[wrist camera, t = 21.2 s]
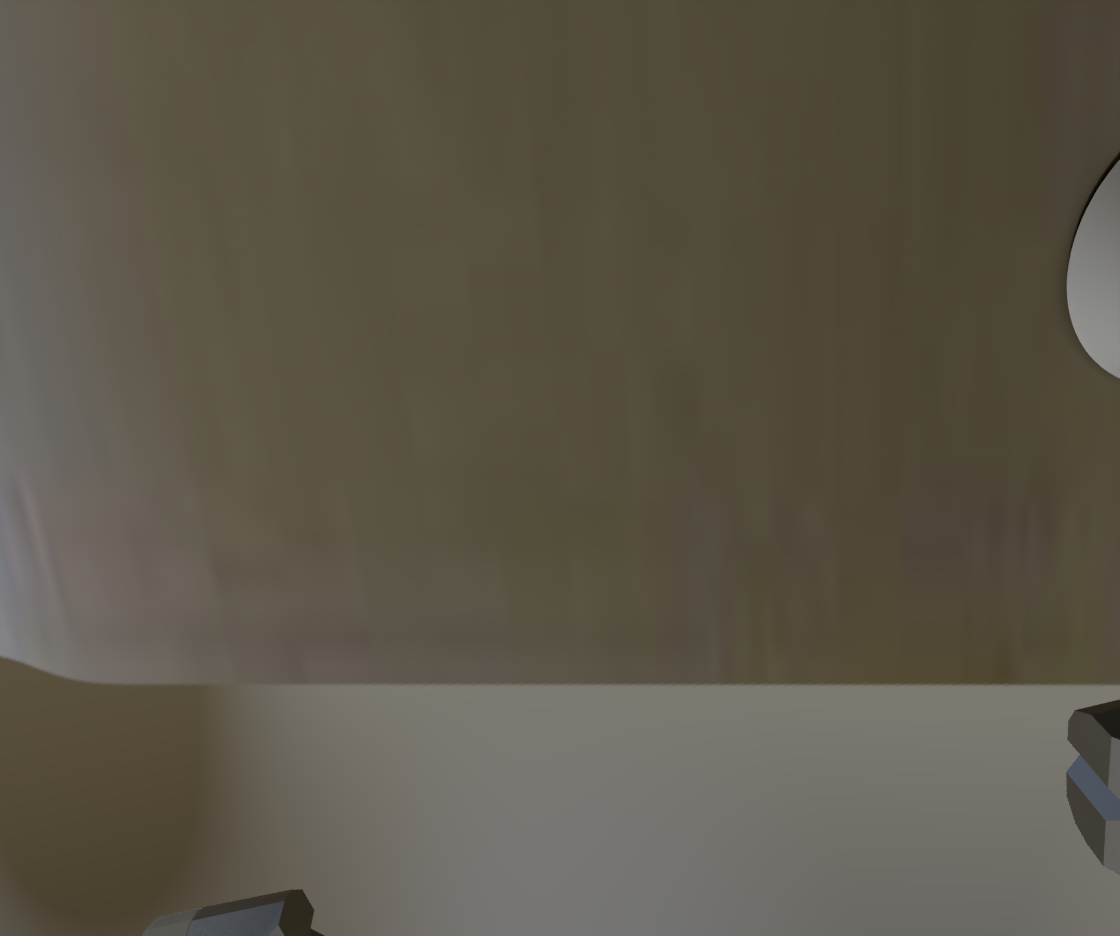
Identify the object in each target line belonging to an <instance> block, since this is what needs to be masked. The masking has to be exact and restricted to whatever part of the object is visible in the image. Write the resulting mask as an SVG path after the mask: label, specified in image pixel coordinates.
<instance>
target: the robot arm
mask: <svg viewBox="0 0 1120 936" xmlns="http://www.w3.org/2000/svg"><path fill="white" fill-rule="evenodd" d="M1067 299H1068V307H1069V313H1070V317H1071V321H1072V324H1073V327H1074V330H1075V332H1076V334H1077V336H1078V339H1079V340H1080V342H1081V344H1082V346H1083V347H1084V349H1085V350H1086V351H1087V353H1088V354H1089V355H1090V356H1091V357H1092V359H1093V360H1094V361H1095V362H1096V363H1098V364H1099V365H1100V366H1101V367H1102V368H1103V369H1105V370H1106V371H1108V372H1109V373H1111V374H1112V375H1114V376H1116V377H1118V378H1120V160H1119V161H1118V162H1117V163H1116V165H1115V166H1114V167H1113V168H1112V170H1111V171H1110V172H1109V174H1108V175H1107V176H1106V178H1105V179H1104V180H1103V182H1102V183H1101V185H1100V186H1099V188H1098V190H1097V191H1096V193H1095V195H1094V196H1093V198H1092V200H1091V202H1090V204H1089V205H1088V207H1087V209H1086V211H1085V214H1084V216H1083V218H1082V220H1081V223H1080V225H1079V228H1078V230H1077V233H1076V236H1075V239H1074V243H1073V247H1072V250H1071V255H1070V260H1069V266H1068V274H1067ZM1067 739H1068V741H1069V742H1070V743H1071V744H1072V746H1073V747H1074V748H1075V749H1076V750H1077V751H1078V753H1079V754H1080V755H1079V756H1078V758H1077V759H1076V760H1075V761H1074V763H1073V764H1072V765H1071V766H1070V768H1069V769H1068V771H1067V772H1066V780H1067V781H1066V782H1067V799H1068V802H1069V805H1070V808H1071V811H1072V814H1073V817H1074V820H1075V823H1076V825H1077V827H1078V829H1079V830H1080V832H1081V834H1082V836H1083V837H1084V839H1085V841H1086V843H1087V845H1088V846H1089V847H1090V849H1091V850H1092V851H1093V853H1094V854H1095V855H1096V857H1097V858H1098V859H1099V861H1100V862H1101V863H1102V865H1103V866H1105V867H1106V868H1108V869H1110V870H1112V871H1114V872H1116V873H1118V874H1120V700H1116V701H1112V702H1108V703H1104V704H1099V705H1095V706H1091V707H1087V708H1083V709H1078V710H1075V711H1074V713H1073V714H1072V716H1071V717H1070V719H1069V721H1068V738H1067ZM313 914H314V908H313V907H312V905H311V903H310V902H309V900H308V898H307V897H306V895H305V893H304V892H303V890H302V889H298V890H297V889H296V890H287V891H282V892H277V893H272V894H268V895H262V896H258V897H252V898H247V899H242V900H237V901H232V902H227V903H222V904H217V905H212V906H207V907H203V908H201V909H195V910H191V911H186V912H181V913H176V914H171V915H167V916H161V917H157V918H156V919H155V920H154V921H153V922H152V924H151V925H150V926H149V927H148V928H147V929H146V931H145V932H144V934H143V936H324V935H322V934H320V933H318V932H316V931H314V930H312V929H311V924H312V919H313Z"/></svg>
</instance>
